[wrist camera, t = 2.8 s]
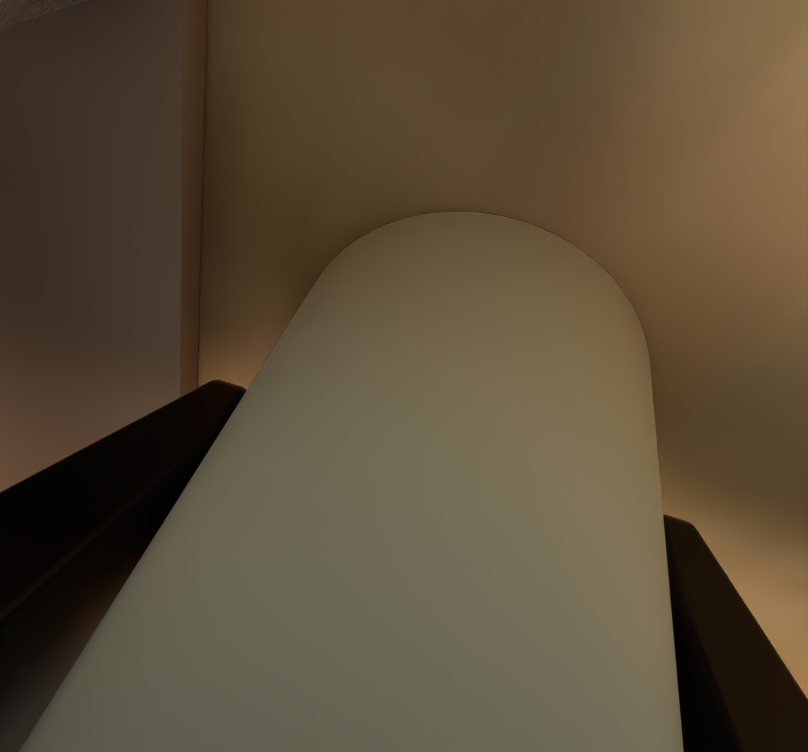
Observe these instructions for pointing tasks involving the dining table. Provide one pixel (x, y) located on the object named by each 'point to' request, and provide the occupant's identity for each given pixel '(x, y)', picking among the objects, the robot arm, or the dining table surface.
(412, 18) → the dining table surface
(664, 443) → the dining table surface
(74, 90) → the course board
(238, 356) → the dining table surface
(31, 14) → the steel post
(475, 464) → the sage cylinder
